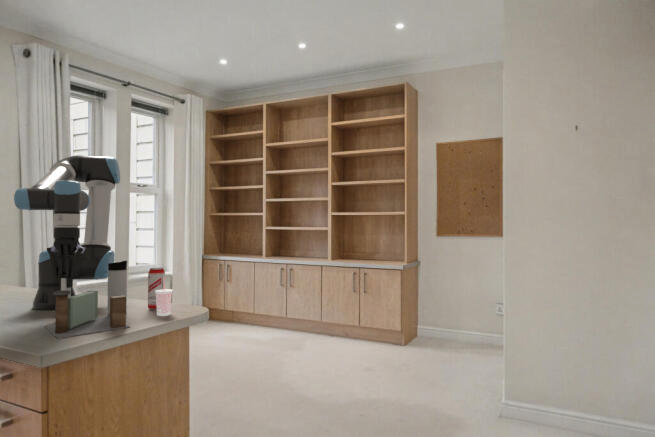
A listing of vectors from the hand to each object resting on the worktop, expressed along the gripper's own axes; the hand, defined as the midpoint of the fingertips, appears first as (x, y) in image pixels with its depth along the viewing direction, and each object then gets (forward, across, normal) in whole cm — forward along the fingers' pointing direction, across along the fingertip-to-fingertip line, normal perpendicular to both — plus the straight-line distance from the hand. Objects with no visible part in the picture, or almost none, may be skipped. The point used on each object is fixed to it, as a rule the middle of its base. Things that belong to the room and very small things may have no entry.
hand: (65, 297), depth 143 cm
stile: (+9, +20, -2) cm, 22 cm away
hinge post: (+9, +8, -11) cm, 16 cm away
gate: (+8, +7, -2) cm, 11 cm away
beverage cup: (+9, +25, +19) cm, 32 cm away
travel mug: (+9, +9, +15) cm, 20 cm away
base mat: (+9, +10, -2) cm, 13 cm away
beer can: (+9, +17, +28) cm, 34 cm away
